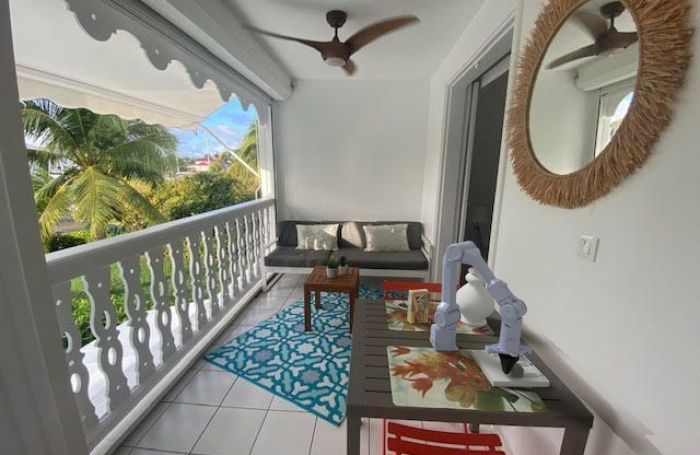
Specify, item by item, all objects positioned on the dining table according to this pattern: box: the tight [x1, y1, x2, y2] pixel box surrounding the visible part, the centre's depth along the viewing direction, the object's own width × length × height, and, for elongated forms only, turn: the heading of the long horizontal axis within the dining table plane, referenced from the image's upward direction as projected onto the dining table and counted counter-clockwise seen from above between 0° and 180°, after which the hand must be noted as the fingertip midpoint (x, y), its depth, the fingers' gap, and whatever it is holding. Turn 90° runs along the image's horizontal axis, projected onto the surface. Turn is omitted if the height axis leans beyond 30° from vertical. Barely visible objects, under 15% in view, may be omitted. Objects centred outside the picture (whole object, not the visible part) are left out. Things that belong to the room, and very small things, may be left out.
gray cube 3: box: [510, 363, 524, 377], centre depth 96 cm, size 3×3×3 cm
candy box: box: [406, 288, 431, 325], centre depth 133 cm, size 9×4×15 cm, turn 103°
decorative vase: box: [456, 267, 496, 328], centre depth 135 cm, size 18×18×25 cm
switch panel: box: [470, 349, 550, 388], centre depth 102 cm, size 18×17×2 cm
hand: (505, 372), depth 96 cm, fingers closed
